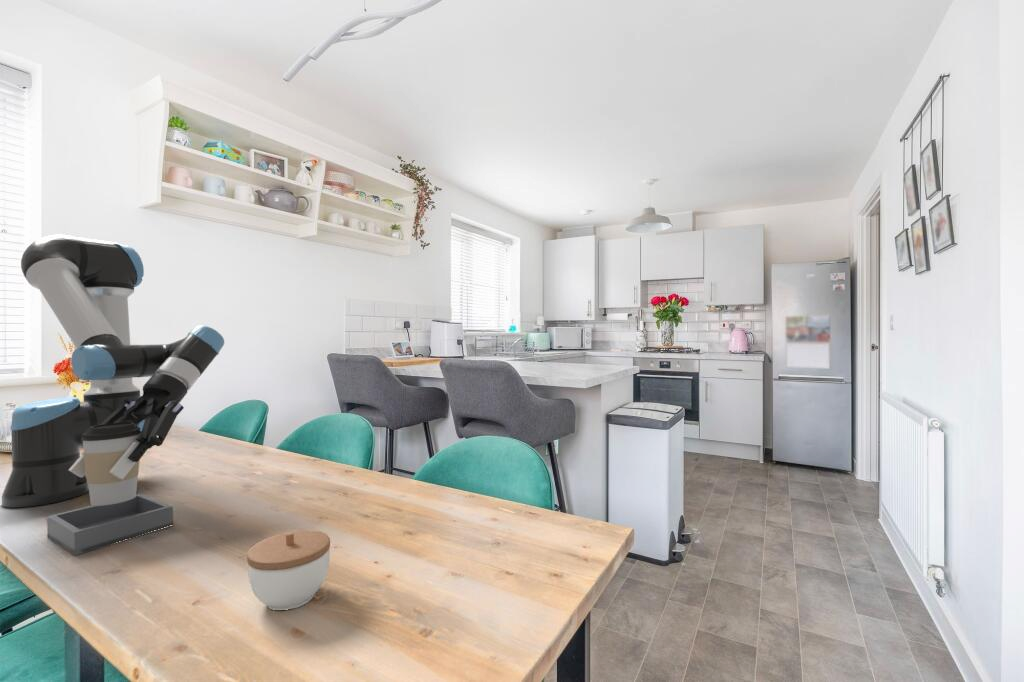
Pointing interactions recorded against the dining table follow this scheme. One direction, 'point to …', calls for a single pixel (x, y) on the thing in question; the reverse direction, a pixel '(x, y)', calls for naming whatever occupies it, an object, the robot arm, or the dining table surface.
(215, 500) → the dining table surface
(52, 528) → the tray
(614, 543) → the dining table surface
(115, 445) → the coffee cup
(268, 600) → the lidded jar
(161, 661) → the dining table surface
